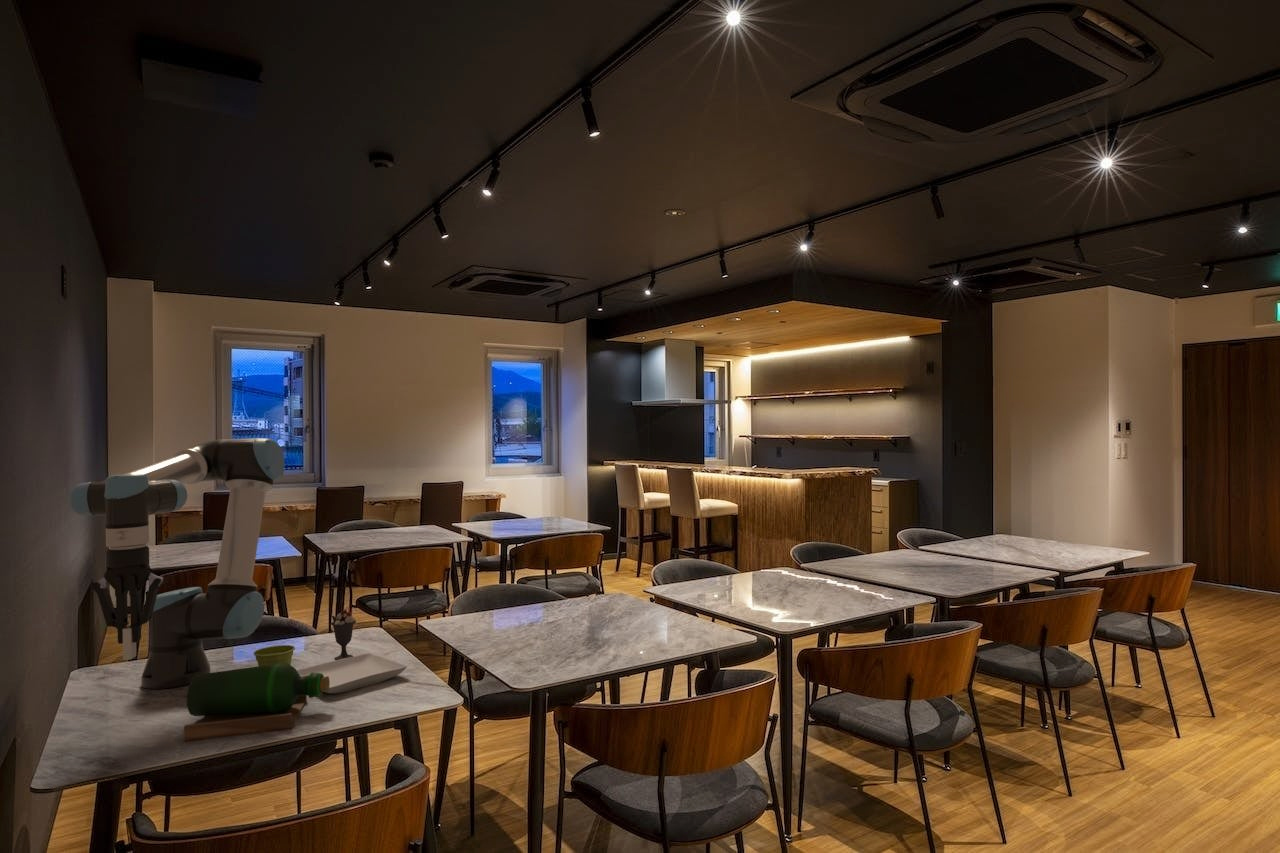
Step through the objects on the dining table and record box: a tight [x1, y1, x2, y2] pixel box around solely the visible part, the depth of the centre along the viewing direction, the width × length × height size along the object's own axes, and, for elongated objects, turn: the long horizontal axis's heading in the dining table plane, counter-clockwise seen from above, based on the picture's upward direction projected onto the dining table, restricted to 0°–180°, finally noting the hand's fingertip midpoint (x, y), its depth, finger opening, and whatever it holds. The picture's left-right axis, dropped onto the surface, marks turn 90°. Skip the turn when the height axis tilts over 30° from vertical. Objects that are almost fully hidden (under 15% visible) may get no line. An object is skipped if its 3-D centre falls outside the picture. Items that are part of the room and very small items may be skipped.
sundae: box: [329, 603, 357, 661], centre depth 205 cm, size 7×7×15 cm
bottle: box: [185, 663, 330, 717], centre depth 162 cm, size 11×11×28 cm
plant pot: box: [253, 644, 296, 667], centre depth 183 cm, size 9×9×9 cm
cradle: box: [183, 696, 307, 742], centre depth 159 cm, size 18×20×3 cm
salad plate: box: [296, 652, 407, 694], centre depth 185 cm, size 21×21×3 cm
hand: (129, 657), depth 154 cm, fingers closed
